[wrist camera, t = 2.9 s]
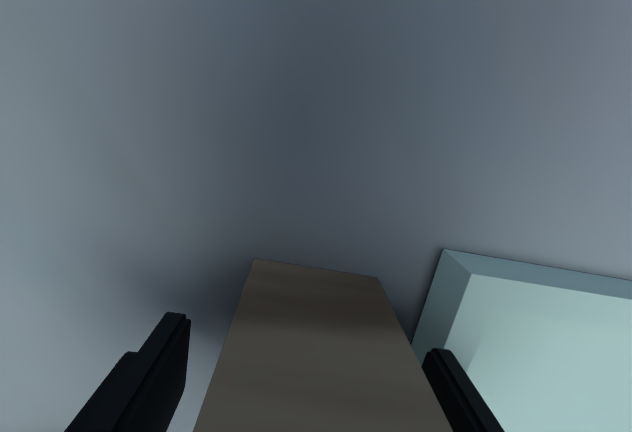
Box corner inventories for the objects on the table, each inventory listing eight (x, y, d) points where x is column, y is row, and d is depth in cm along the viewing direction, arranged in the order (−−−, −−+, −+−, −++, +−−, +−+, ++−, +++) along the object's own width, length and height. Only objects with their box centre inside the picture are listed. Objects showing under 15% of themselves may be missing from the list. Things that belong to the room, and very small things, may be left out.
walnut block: (254, 258, 12) (168, 501, 4) (376, 277, 12) (499, 525, 5) (238, 361, 13) (152, 685, 6) (349, 375, 14) (410, 690, 6)
